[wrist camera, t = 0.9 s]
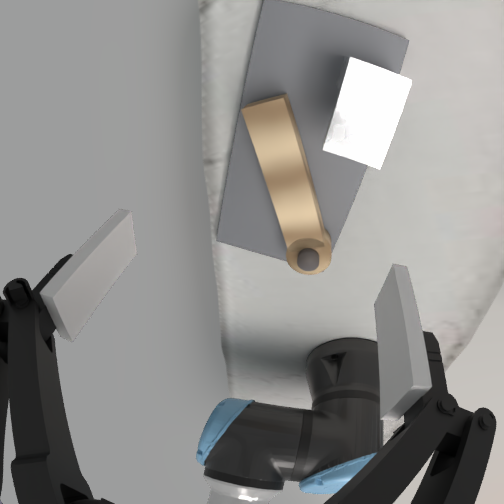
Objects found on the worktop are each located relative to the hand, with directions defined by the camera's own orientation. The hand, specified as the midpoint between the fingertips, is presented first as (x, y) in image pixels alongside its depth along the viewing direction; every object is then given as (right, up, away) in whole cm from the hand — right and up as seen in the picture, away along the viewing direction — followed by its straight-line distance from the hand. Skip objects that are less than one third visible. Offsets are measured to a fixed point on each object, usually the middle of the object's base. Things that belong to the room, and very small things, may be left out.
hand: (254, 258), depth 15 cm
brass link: (+4, +7, +18) cm, 20 cm away
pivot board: (+5, +12, +17) cm, 21 cm away
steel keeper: (+10, +15, +12) cm, 22 cm away
